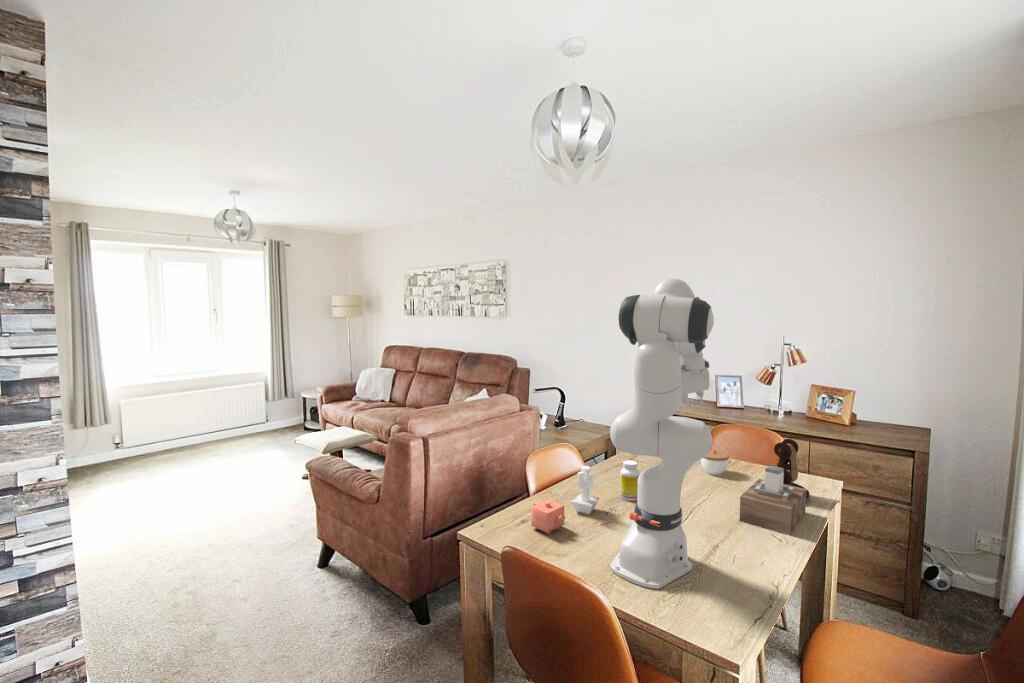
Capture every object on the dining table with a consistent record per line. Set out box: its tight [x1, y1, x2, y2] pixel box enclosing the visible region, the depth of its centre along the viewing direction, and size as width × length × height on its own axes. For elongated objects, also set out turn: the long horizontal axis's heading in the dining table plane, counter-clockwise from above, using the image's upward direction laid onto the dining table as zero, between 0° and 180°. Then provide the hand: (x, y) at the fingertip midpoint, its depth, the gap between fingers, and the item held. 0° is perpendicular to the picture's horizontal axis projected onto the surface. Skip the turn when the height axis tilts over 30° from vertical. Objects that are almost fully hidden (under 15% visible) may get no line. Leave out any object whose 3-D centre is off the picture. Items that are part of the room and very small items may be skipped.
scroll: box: [773, 438, 810, 500], centre depth 165 cm, size 15×15×20 cm
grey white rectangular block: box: [764, 465, 784, 494], centre depth 149 cm, size 4×4×8 cm
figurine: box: [570, 465, 600, 515], centre depth 155 cm, size 7×9×15 cm
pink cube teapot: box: [530, 499, 566, 535], centre depth 143 cm, size 8×12×8 cm, turn 44°
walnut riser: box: [739, 478, 807, 536], centre depth 149 cm, size 20×14×10 cm
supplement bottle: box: [619, 460, 641, 502], centre depth 165 cm, size 7×7×13 cm
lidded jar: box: [700, 449, 730, 476], centre depth 189 cm, size 11×11×9 cm
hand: (693, 406), depth 155 cm, fingers open, 8 cm apart
